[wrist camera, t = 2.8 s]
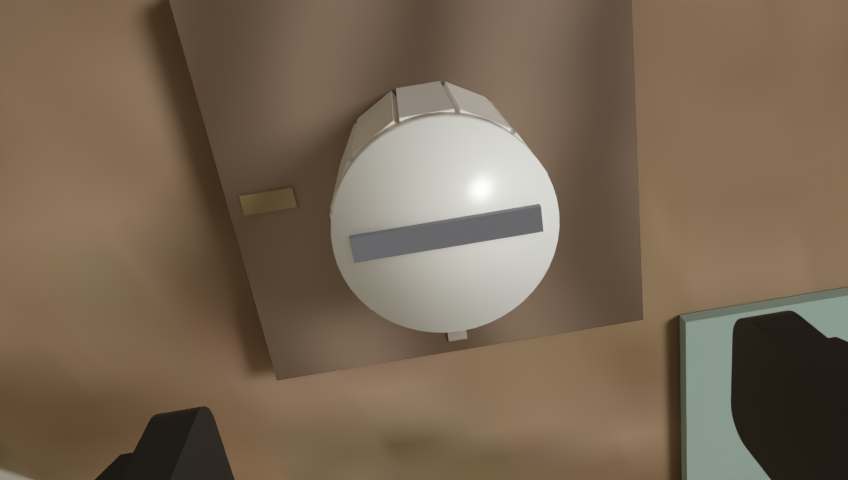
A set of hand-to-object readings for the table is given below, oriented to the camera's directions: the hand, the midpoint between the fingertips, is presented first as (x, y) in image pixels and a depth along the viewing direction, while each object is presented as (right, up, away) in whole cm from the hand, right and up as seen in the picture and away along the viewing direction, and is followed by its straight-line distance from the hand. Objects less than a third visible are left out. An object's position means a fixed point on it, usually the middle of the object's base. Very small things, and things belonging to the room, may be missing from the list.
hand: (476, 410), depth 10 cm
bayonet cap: (-1, +5, +12) cm, 13 cm away
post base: (-1, +5, +14) cm, 15 cm away
